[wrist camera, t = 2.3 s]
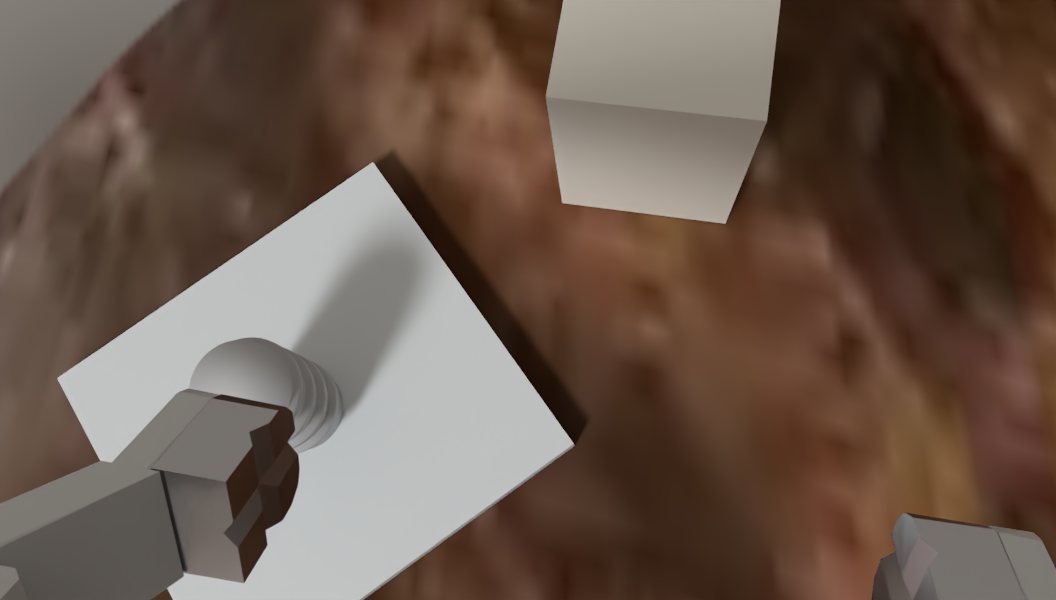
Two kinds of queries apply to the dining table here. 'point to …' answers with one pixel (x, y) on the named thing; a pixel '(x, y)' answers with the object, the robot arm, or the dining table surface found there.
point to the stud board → (392, 382)
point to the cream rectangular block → (660, 102)
